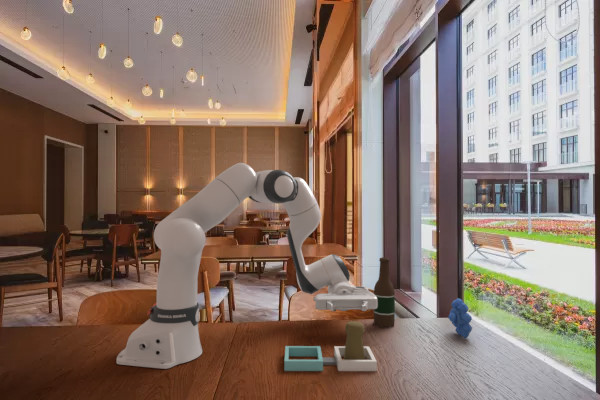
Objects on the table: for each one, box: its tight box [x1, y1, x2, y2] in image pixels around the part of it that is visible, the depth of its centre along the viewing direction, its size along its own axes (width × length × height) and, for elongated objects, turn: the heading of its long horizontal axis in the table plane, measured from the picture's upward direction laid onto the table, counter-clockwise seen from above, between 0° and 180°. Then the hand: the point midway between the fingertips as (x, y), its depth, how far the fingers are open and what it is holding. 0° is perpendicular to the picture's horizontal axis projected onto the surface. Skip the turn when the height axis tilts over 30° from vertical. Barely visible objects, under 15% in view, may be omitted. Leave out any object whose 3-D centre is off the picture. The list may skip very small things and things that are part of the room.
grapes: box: [447, 297, 473, 339], centre depth 121 cm, size 12×7×12 cm, turn 2°
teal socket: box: [283, 345, 324, 372], centre depth 99 cm, size 10×10×2 cm
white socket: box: [322, 345, 378, 372], centre depth 99 cm, size 14×10×2 cm
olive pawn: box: [343, 320, 366, 360], centre depth 99 cm, size 6×6×11 cm
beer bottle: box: [373, 257, 396, 329], centre depth 132 cm, size 8×8×24 cm
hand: (349, 308), depth 112 cm, fingers open, 8 cm apart
